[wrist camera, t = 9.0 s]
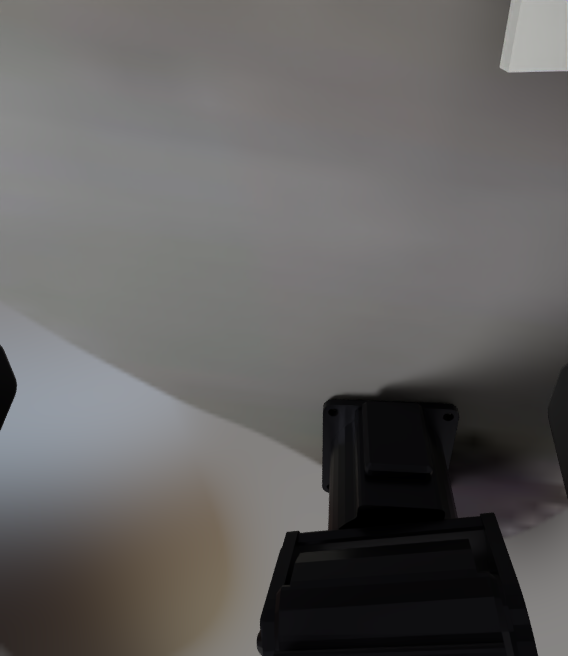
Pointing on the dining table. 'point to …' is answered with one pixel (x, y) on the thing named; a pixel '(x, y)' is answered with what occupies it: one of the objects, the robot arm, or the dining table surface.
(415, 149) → the dining table surface
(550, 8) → the white square board
